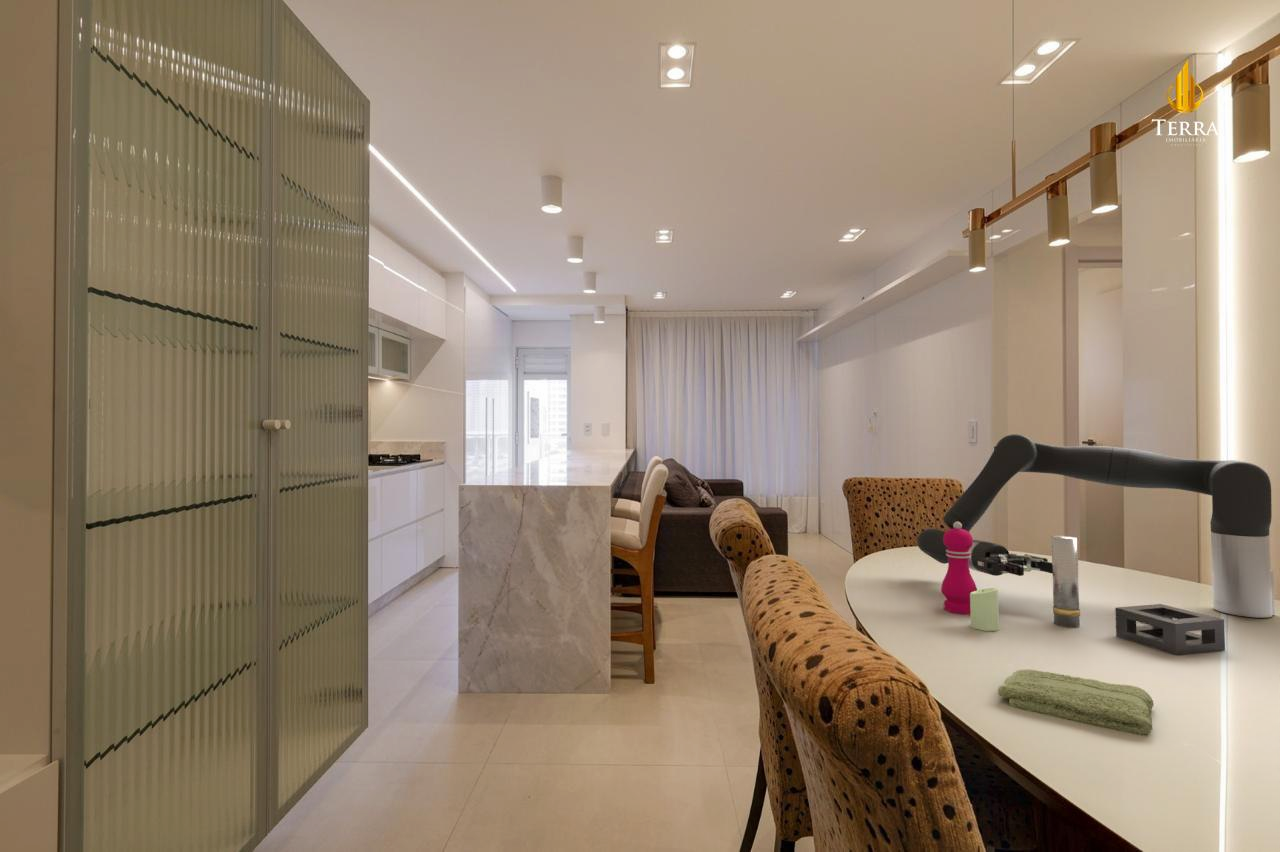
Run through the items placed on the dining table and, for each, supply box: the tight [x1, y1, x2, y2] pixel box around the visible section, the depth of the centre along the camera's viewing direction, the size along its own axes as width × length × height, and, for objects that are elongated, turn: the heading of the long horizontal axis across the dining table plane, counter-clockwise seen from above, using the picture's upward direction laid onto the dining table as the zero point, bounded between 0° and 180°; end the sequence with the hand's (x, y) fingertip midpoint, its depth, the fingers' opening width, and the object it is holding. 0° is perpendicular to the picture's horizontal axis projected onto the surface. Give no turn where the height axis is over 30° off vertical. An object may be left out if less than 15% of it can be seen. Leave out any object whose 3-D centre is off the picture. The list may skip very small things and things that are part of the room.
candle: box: [970, 587, 1000, 632], centre depth 125 cm, size 5×5×8 cm
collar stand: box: [1114, 603, 1226, 656], centre depth 114 cm, size 11×11×6 cm
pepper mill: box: [940, 522, 978, 615], centre depth 137 cm, size 7×7×20 cm
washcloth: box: [997, 669, 1155, 735], centre depth 88 cm, size 13×18×3 cm
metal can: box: [1051, 535, 1081, 628], centre depth 126 cm, size 5×5×18 cm
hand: (1039, 570), depth 133 cm, fingers open, 8 cm apart
